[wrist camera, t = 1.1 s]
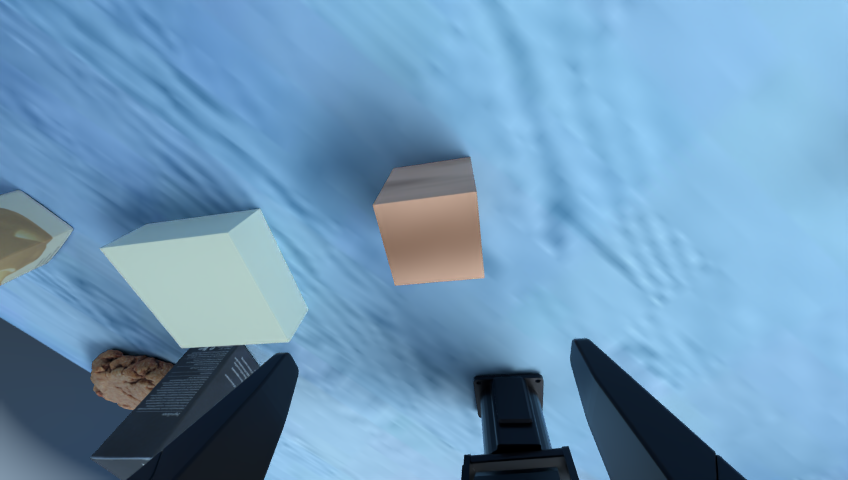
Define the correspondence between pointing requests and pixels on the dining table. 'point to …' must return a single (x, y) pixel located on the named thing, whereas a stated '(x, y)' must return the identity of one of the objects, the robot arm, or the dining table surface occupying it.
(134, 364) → the cookie
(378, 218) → the terracotta block
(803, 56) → the dining table surface
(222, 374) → the box
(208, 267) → the sage base block
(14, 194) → the skincare box
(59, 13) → the dining table surface
